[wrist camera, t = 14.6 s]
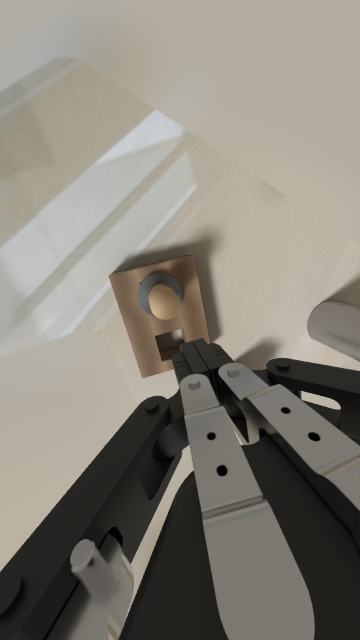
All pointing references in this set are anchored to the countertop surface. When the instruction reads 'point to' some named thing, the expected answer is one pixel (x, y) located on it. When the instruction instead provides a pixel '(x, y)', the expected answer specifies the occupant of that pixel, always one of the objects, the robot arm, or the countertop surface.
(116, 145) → the countertop surface
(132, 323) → the walnut board
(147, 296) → the oak peg
